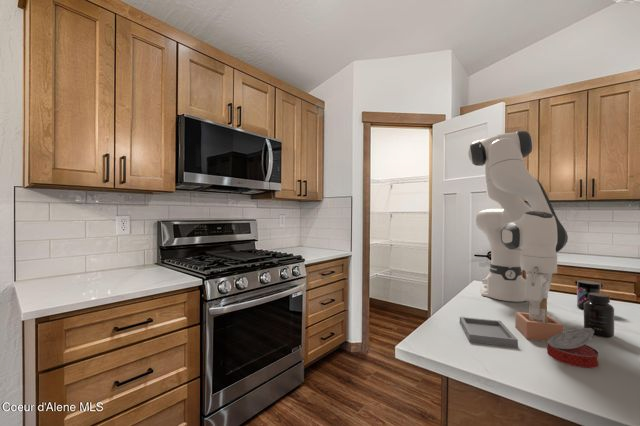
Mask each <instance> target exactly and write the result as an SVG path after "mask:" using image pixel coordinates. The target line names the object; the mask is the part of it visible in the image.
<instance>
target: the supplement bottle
mask: <svg viewBox="0 0 640 426" xmlns="http://www.w3.org/2000/svg"><path fill="white" fill-rule="evenodd" d="M588 299H589V301H587V302H585V303H584V310H583V328H592V329H593V330H594V333H593V335H592V336H595V337H600V338H606V339H607V338H613V337H614V336H615V308H614V306H613V305H612V304H610V302H611V299H610V296H609V294H605V293H601V292H600V293H588Z"/></svg>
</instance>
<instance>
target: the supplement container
mask: <svg viewBox="0 0 640 426" xmlns="http://www.w3.org/2000/svg"><path fill="white" fill-rule="evenodd" d="M576 284H577V285H576V287H577V288H576V291H577V292H576V306H577V308H578V309H580V310H583V311H584V303H585V302H587V301H589V299H588V293H601V289H602V287H601V286H602V284H601V283H600V282H596V281H593V280H584V279H583V280H582V279H581V280H577V283H576Z"/></svg>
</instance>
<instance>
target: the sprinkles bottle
mask: <svg viewBox="0 0 640 426" xmlns="http://www.w3.org/2000/svg"><path fill="white" fill-rule="evenodd" d="M548 293H549V292H547V291H546V292H545V297H544V298H543V300H542V301H541V303H540V314H539V315H535V314H532V307H531V302H529V305H528V307H529V308H528V309H529V310H528V313H529V321H536V322H546V323H547V315H548V297H549V296H548V295H549V294H548Z"/></svg>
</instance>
